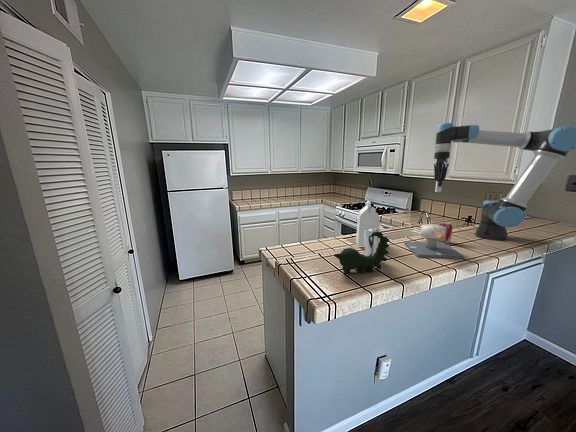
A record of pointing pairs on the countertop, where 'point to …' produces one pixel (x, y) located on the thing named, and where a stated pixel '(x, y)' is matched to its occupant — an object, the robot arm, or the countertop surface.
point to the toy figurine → (356, 260)
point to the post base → (432, 249)
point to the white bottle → (433, 231)
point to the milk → (366, 222)
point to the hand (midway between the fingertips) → (438, 191)
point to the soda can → (446, 231)
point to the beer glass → (370, 241)
